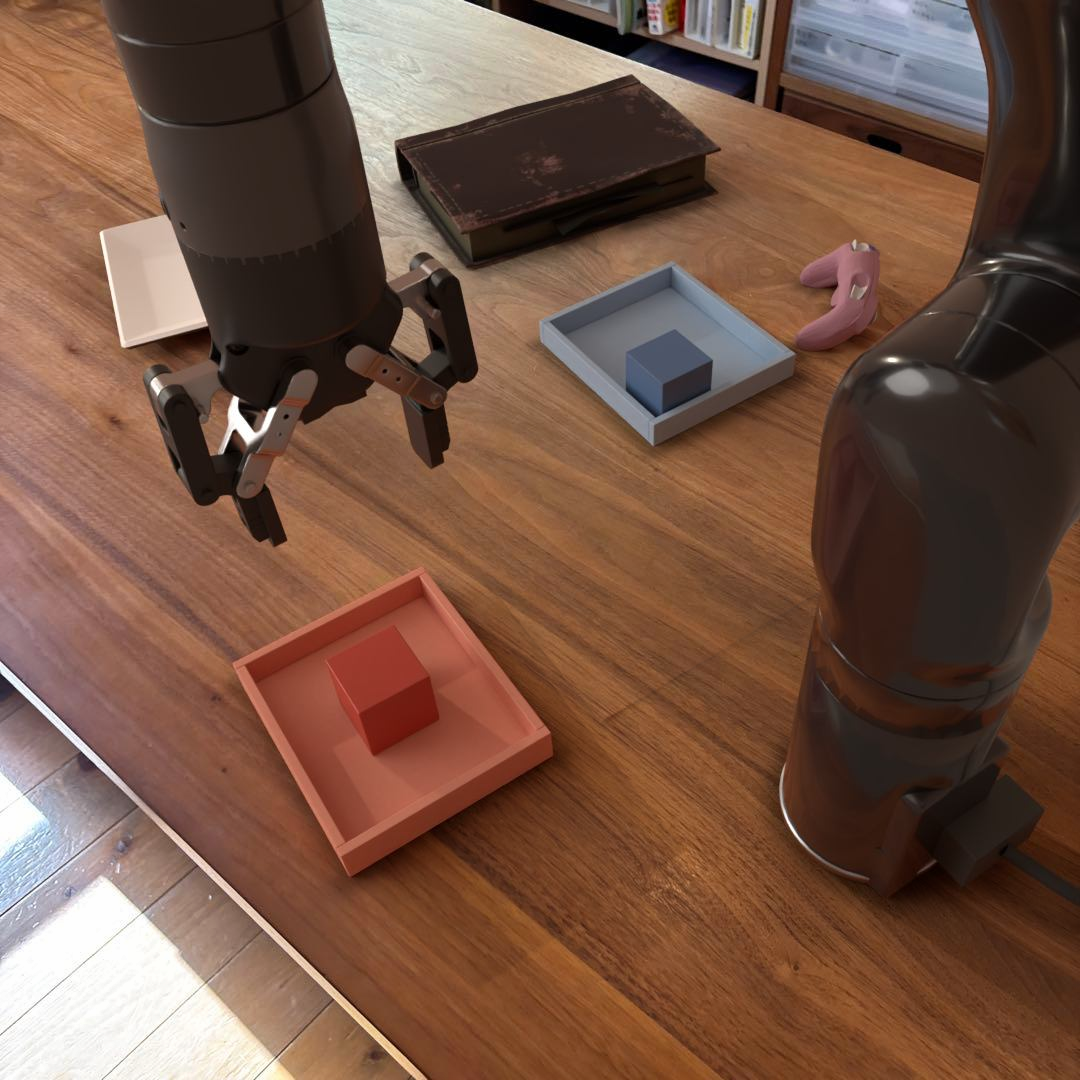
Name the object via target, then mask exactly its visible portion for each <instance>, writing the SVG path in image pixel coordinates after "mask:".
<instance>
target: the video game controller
mask: <svg viewBox="0 0 1080 1080" xmlns="http://www.w3.org/2000/svg"><path fill="white" fill-rule="evenodd" d="M880 253H881V252H880V250H879V249H878V248H876V247H875V246H873V245H872V244H868V243H866V242H858V241H857V239H853V241H849V242H848V241H847V242H846V243H844V244H842V245H840V246H839V247H838V248H836V249H834V250H833V251H832V252H830V253H828V254H826V255H824V256H822V257H819V258H817V259H816V260H814V261H812V262H811V263H809V264H807V265H806V266H805V267H804V268H803V269H802V271H801V272H800V275H799V283H800V284H801V285H803V286H806V287H811V288H816V289H824V288H829V287H833V286H835V285H837V287H836V288H835V291H834V292H833V293H832V297H831V298H830V299H831V300H830V306H831V307H832V309H831V310H829V311H828V312H827V313H825V314H824V315H822V316H820V317H819V318H817V319H815V320H813V321H811V322H810V323H807V324H806V325H804V326H803V327H802V328H801V329H800V330H798V332H796V334H795V337H794V345H795V347H796V348H798V349H800V350H801V351H802V350H803V351H809V352H820V351H826V350H829V349H831V348H834V347H837V346H838V345H841V343H843V342H845V341H847V340H849V339H850V338H851V337H853V336H857V335H860V334H861V333H862V332H863V331H865V329H866V328H867V327H869V326H871V325H872V324H874V323H875V322H876V320H877V316H878V311H877V308H878V305H879V296H878V294H877V290H878V285H879V281H880V273H881V271H880V270H881V264H880V263H881V262H880Z"/></svg>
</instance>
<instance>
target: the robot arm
mask: <svg viewBox="0 0 1080 1080" xmlns="http://www.w3.org/2000/svg"><path fill="white" fill-rule="evenodd" d="M323 1H324V0H99V2H100V5H101V8H102V11H103V15H104V17H105V20H106V21H105V22H106V23H107V26H108V28H109V29H108V30H109V32H110V35H111V38H112V40H113V43H114V46H115V50H116V52H117V54H118V57H119V59H120V62H121V66H122V69H123V71H124V74H125V77H126V81H127V82H128V85H129V88H130V91H131V93H132V96H133V99H134V101H135V106H136V109H137V111H138V115H139V119H140V123H141V128H142V133H143V138H144V144H145V148H146V153H147V156H148V157H147V158H148V161H149V164H150V166H151V170H152V172H153V177H154V179H155V182H156V185H157V196H158V199H159V203H160V206H161V208H162V211H163V213H164V215H167V217H168V219H169V220H170V221H171V224H172V227H173V230H174V232H175V235H176V238H177V241H178V244H179V246H180V249H181V252H182V254H183V257H184V260H185V263H186V265H187V268H188V271H189V274H190V276H191V279H192V282H193V285H194V287H195V290H196V293H197V296H198V299H199V301H200V304H201V307H202V310H203V313H204V315H205V318H206V321H207V324H208V327H209V328H208V330H209V332H210V339H211V344H210V349H209V355H208V359H207V360H204V361H201V362H199V363H196V364H193V365H190V366H188V367H186V368H182V369H180V370H177V371H174V372H173V370H172V369H171V367H169V365H166V364H163V363H157V364H152V365H150V366H149V367H147V369H145V371H144V372H143V375H142V381H143V385H144V388H145V391H146V393H147V396H148V399H149V402H150V405H151V408H152V410H153V413H154V416H155V419H156V422H157V425H158V428H159V431H160V434H161V437H162V439H163V442H164V445H165V448H166V450H167V454H168V457H169V459H170V462H171V465H172V468H173V470H174V472H175V474H176V476H177V477H178V478H179V480H180V481H181V483H182V485H183V486H184V487H185V489H186V490H187V492H188V494H189V495H190V496H191V498H192V500H193V501H194V502H195V504H196V505H198V506H201V507H208V506H211V505H214V504H216V502H217V501H219V499H220V497H224V496H230V497H231V499H232V502H233V504H234V506H235V507H234V508H235V509H236V511H237V514H238V516H239V519H240V521H241V522H242V524H243V525H244V527H245V529H246V530H247V531H248V533H249V534H250V535H251V537H252V538H253V540H255V541H257V543H259V544H260V543H262V542H265V541H268V542H269V544H270V545H271V547H273V548H276V547H278V546H280V545H282V544H285V543H287V542H288V537H287V534H286V532H285V528H284V526H283V523H282V520H281V518H280V514H279V512H278V510H277V506H276V503H275V500H274V498H273V496H272V493H271V490H270V488H269V487H268V485H267V483H266V480H267V477H268V476H269V473H270V470H271V468H272V466H273V463H274V461H275V459H276V458H281V457H282V456H284V454H285V452H286V451H287V448H288V445H289V443H290V441H291V438H292V435H293V433H294V432H295V429H296V426H297V424H298V422H301V423H302V424H303V426H306V425H308V424H310V423H312V422H314V421H316V420H318V419H321V418H322V417H324V416H325V415H326V414H327V413H329V412H330V411H332V410H333V409H334V408H337V407H340V406H345V405H349V404H350V405H351V404H353V403H355V402H357V401H360V400H362V399H363V398H366V397H368V394H367V390H369V389H370V388H371V387H372V385H374V383H378V384H379V385H381V386H382V387H384V388H387V389H388V390H390V391H392V392H393V393H395V394H397V395H398V396H399V397H400V400H401V406H402V409H403V410H402V411H403V415H404V419H405V424H406V428H407V433H408V438H409V441H410V446H411V448H412V450H413V451H414V453H415V454H416V455H417V456H418V458H419V459H420V460H421V461H422V463H424V464H425V465H426V467H427V468H429V470H433V469H435V468H438V467H439V466H441V465H444V464H445V458H444V457H445V456H444V453H445V452H446V451H448V450H449V449H450V444H451V434H450V429H449V425H448V418H447V413H446V407H445V402H446V401H447V399H448V392H450V389H452V388H453V387H454V386H455V385H457V383H458V382H459V383H460V384H467V383H470V382H471V381H473V380H474V379H475V378H476V376H477V375H478V373H479V364H478V359H477V353H476V350H475V345H474V341H473V335H472V331H471V326H470V323H469V318H468V313H467V308H466V304H465V303H466V302H465V299H464V295H463V289H462V285H461V282H460V279H459V278H458V277H457V276H456V275H454V273H452V272H451V271H450V270H449V269H448V268H447V267H446V266H445V265H444V264H443V263H441V262H440V261H439V260H438V259H436V258H435V257H434V256H433V255H432V254H430V253H429V252H427V251H420V252H418V253H416V254H415V255H414V256H413V257H412V258H411V260H410V262H409V267H408V268H409V271H408V272H406V273H404V274H402V275H400V276H398V277H396V278H394V279H392V280H390V281H387V278H388V277H387V269H386V264H385V260H384V255H383V250H382V245H381V240H380V235H379V230H378V225H377V221H376V216H375V212H374V206H373V202H372V197H371V191H370V188H369V182H368V178H367V172H366V168H365V162H364V158H363V154H362V149H361V143H360V140H359V139H360V138H359V133H358V130H357V129H358V128H357V126H356V122H355V118H354V117H355V116H354V114H353V111H352V108H351V104H350V102H349V100H348V97H347V95H346V91H345V89H344V86H343V83H342V79H341V78H340V74H339V70H338V67H337V63H336V60H335V53H334V49H333V44H332V40H331V39H332V38H331V35H330V30H329V25H328V20H327V15H326V11H325V6H324V2H323ZM964 2H965V5H966V7H967V11H968V13H969V16H970V18H971V19H970V20H971V22H972V24H973V27H974V30H975V33H976V37H977V40H978V45H979V48H980V52H981V55H982V59H983V63H984V67H985V73H986V81H987V82H986V83H987V91H988V92H987V95H988V96H987V101H988V104H987V105H988V106H987V107H988V108H987V109H988V113H987V115H988V118H987V129H986V140H985V147H984V148H985V149H984V155H983V161H982V162H983V163H982V167H981V174H980V179H979V184H978V190H977V194H976V198H975V199H976V200H975V206H974V209H973V214H972V218H971V221H970V226H969V230H968V234H967V236H966V237H967V238H966V241H965V245H964V248H963V251H962V255H961V258H960V261H959V263H958V265H957V267H956V269H955V271H954V273H953V275H952V276H951V278H950V280H949V281H948V283H947V285H946V286H945V288H943V289H942V290H941V291H939V292H938V293H937V294H936V295H934V296H933V297H931V298H930V299H929V300H928V301H927V302H925V303H924V304H923V305H922V306H920V307H919V308H918V309H916V310H915V311H914V312H912V313H911V314H910V315H908V316H907V317H905V319H903V320H902V321H901V322H900V323H898V324H897V325H896V326H894V327H893V328H892V329H891V330H889V331H888V332H887V333H886V334H884V335H883V336H882V337H881V338H880V339H878V340H877V341H876V342H875V343H873V344H872V345H871V346H869V347H868V348H866V350H864V351H863V352H862V353H861V354H859V355H858V356H857V357H856V358H855V359H854V360H853V361H852V362H851V364H850V365H849V366H848V367H847V368H846V370H845V372H844V373H843V374H842V376H841V378H840V379H839V381H838V383H837V385H836V387H835V389H834V392H833V395H832V397H831V399H830V402H829V405H828V408H827V412H826V416H825V419H824V424H823V428H822V433H821V438H820V446H819V454H818V463H817V472H816V481H815V490H814V498H813V499H814V500H813V509H812V519H811V526H810V527H811V528H810V553H811V559H812V565H813V569H814V572H815V575H816V579H817V582H818V583H819V587H820V589H819V593H818V598H817V603H816V607H815V613H814V618H813V623H812V628H811V633H810V637H809V642H808V648H807V651H806V657H805V660H804V661H805V662H804V667H803V671H802V677H801V682H800V686H799V691H798V697H797V702H796V707H795V710H794V711H795V712H794V717H793V722H792V726H791V732H790V737H789V741H788V748H787V752H786V753H787V754H786V758H785V763H784V765H783V767H782V771H781V775H780V779H779V783H778V784H779V785H778V807H779V811H780V814H781V817H782V820H783V823H784V826H785V828H786V829H787V831H788V833H789V835H790V836H791V838H792V839H793V841H794V842H795V843H796V845H797V846H798V848H800V850H801V851H802V852H803V853H804V854H805V855H806V856H807V857H809V859H811V860H812V861H813V862H814V863H816V864H817V865H819V866H820V867H822V868H823V869H825V870H826V871H828V872H829V873H832V874H834V875H836V876H839V877H841V878H844V879H846V880H849V881H852V882H856V883H862V884H866V885H868V886H869V887H870V888H871V889H872V890H874V892H875V893H876V894H877V895H878V896H879V897H881V898H882V899H888V898H890V897H892V896H893V895H894V894H896V893H898V891H900V890H901V889H902V888H904V887H905V886H907V885H908V884H909V883H911V882H912V881H913V880H915V879H916V878H918V877H920V876H922V875H924V874H925V873H927V872H929V871H930V870H931V869H932V868H934V867H935V866H936V865H940V866H941V867H942V868H943V869H944V870H945V872H946V873H947V874H948V875H949V876H951V878H952V879H953V880H954V881H955V882H956V883H957V884H958V885H959V886H960V887H961V888H965V887H966V886H967V885H969V884H970V883H972V882H973V881H974V880H976V879H977V878H978V877H979V876H981V875H982V874H983V873H985V872H986V871H988V870H989V869H990V868H991V867H993V866H994V865H995V864H997V863H998V862H999V861H1000V860H1002V859H1004V860H1005V861H1007V862H1008V863H1009V864H1011V865H1013V866H1014V867H1016V868H1017V869H1019V870H1021V871H1022V872H1024V873H1025V874H1026V875H1028V876H1029V877H1031V878H1033V879H1034V880H1036V881H1037V882H1039V883H1040V884H1041V885H1043V886H1044V887H1046V888H1048V889H1049V890H1051V891H1052V892H1054V893H1056V895H1058V896H1060V897H1062V898H1063V899H1065V900H1066V901H1068V902H1070V903H1072V904H1073V905H1075V906H1077V907H1079V908H1080V888H1079V887H1077V886H1076V885H1074V884H1072V883H1071V882H1070V881H1068V880H1066V879H1064V878H1063V877H1061V876H1059V875H1058V874H1056V872H1054V871H1052V870H1050V869H1049V868H1048V867H1046V866H1044V865H1043V864H1041V863H1040V862H1039V861H1037V860H1035V859H1034V858H1032V857H1031V856H1029V855H1028V854H1027V853H1025V852H1024V851H1022V850H1021V849H1020V848H1019V849H1018V847H1020V846H1021V845H1022V844H1023V843H1025V842H1026V841H1027V840H1029V838H1030V837H1031V835H1032V834H1033V832H1034V831H1035V829H1036V827H1037V825H1038V823H1039V822H1040V820H1041V818H1042V817H1043V814H1044V813H1045V811H1046V809H1045V808H1044V807H1043V805H1041V803H1039V802H1038V801H1037V800H1036V799H1034V798H1033V796H1031V795H1030V794H1029V793H1028V792H1027V791H1026V790H1025V789H1024V788H1023V787H1022V786H1020V785H1019V784H1018V783H1017V781H1015V779H1013V778H1012V777H1011V776H1009V774H1007V773H1005V774H1003V775H1002V776H1000V777H999V775H1000V773H1001V771H1002V769H1003V767H1004V765H1005V762H1006V760H1007V758H1008V757H1009V754H1010V752H1011V745H1010V744H1009V742H1007V741H1006V740H1005V739H1004V738H1003V737H1002V736H1001V735H999V733H1000V732H1001V728H1002V727H1003V725H1004V722H1005V720H1006V718H1007V715H1008V713H1009V711H1010V709H1011V707H1012V705H1013V703H1014V701H1015V698H1016V696H1017V695H1018V692H1019V690H1020V687H1021V685H1022V683H1023V681H1024V679H1025V676H1026V674H1027V672H1028V670H1029V668H1030V666H1031V664H1032V662H1033V660H1034V658H1035V657H1036V654H1037V652H1038V650H1039V648H1040V646H1041V643H1042V642H1043V640H1044V637H1045V634H1046V632H1047V630H1048V627H1049V624H1050V621H1051V618H1052V613H1053V590H1052V589H1053V588H1052V584H1051V579H1050V576H1049V574H1048V572H1047V571H1048V569H1049V567H1050V564H1051V562H1052V561H1053V558H1054V556H1055V554H1056V553H1057V550H1058V549H1059V547H1060V544H1061V543H1062V541H1063V539H1064V538H1065V536H1066V535H1067V533H1068V532H1069V531H1070V529H1071V528H1073V526H1074V525H1075V524H1076V523H1077V522H1078V521H1079V520H1080V0H964ZM406 308H407V309H408V308H409V309H410V310H411V311H413V313H415V314H416V316H418V317H419V318H420V319H421V320H422V324H423V328H424V332H425V337H426V340H427V343H428V347H429V351H430V352H429V354H427V356H426V357H424V358H423V359H422V360H421V361H420V362H419V361H417V360H415V359H414V358H412V357H411V356H409V355H408V354H405V353H404V352H402V351H400V350H399V349H397V348H396V347H395V346H394V345H392V344H393V342H394V339H395V337H396V334H397V332H398V329H399V327H400V325H401V323H402V320H403V316H404V309H406ZM222 389H224V390H225V391H226V392H227V393H229V394H230V395H232V397H231V400H230V403H229V406H228V408H227V414H226V416H227V428H226V430H225V433H224V435H223V438H222V441H221V443H220V445H219V447H218V450H217V453H216V454H212V455H211V454H210V450H209V447H208V443H207V441H206V437H205V434H204V430H203V428H202V425H205V424H207V423H208V422H209V421H210V419H211V418H210V417H211V416H210V414H211V412H212V400H213V397H214V395H215V394H216V393H217V392H219V391H220V390H222ZM264 412H266V415H265V416H264ZM998 777H999V778H998Z"/></svg>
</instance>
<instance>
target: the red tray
mask: <svg viewBox="0 0 1080 1080" xmlns="http://www.w3.org/2000/svg"><path fill="white" fill-rule="evenodd" d="M392 625H394V626H395V627H396V628H397V630H398V631H399V633H400V634H401V635H402V637H403V638H404V640H405V641H406V643H407V644H408V646H409V647H410V648H411V650H412V651H413V653H414V654H415V656H416V657H417V658H418V660H419V661H420V663H421V664H422V666H423V667H424V668H425V670H426V671H427V673H428V674H429V676H430V680H431V684H432V688H433V692H434V696H435V700H436V705H437V709H438V713H439V717H440V719H439V720H437V721H435V722H433V723H432V724H430V725H428V726H426V727H424V728H423V729H421V730H419V731H417V732H415V733H414V734H412V735H410V736H408V737H406V738H405V739H403V740H401V741H399V742H397V743H396V744H394V745H392V746H390V747H389V748H387V749H385V750H383V751H381V752H380V753H378V754H376V755H374V756H373V755H372V754H371V752H370V751H369V749H368V748H367V746H366V744H365V743H364V741H363V739H362V738H361V736H360V735H359V733H358V731H357V730H356V728H355V726H354V725H353V723H352V722H351V720H350V718H349V717H348V715H347V713H346V712H345V710H344V709H343V707H342V705H341V704H340V701H339V698H338V695H337V693H336V690H335V687H334V684H333V681H332V679H331V676H330V673H329V670H328V667H327V665H326V662H325V660H326V659H328V658H330V657H332V656H334V655H336V654H338V653H340V652H342V651H344V650H346V649H347V648H349V647H351V646H353V645H355V644H357V643H359V642H361V641H363V640H365V639H367V638H369V637H371V636H373V635H374V634H376V633H378V632H380V631H382V630H384V629H386V628H388V627H390V626H392ZM232 666H233V668H234V670H235V672H236V675H237V677H238V679H239V682H240V683H241V685H242V687H243V689H244V691H245V693H246V695H247V697H248V699H249V700H250V701H251V703H252V705H253V707H254V709H255V711H256V712H257V714H258V716H259V718H260V719H261V721H262V723H263V725H264V726H265V729H266V730H267V732H268V734H269V736H270V737H271V740H272V741H273V743H274V744H275V746H276V749H277V750H278V751H279V753H280V755H281V757H282V759H283V760H284V762H285V765H286V766H287V768H288V769H289V772H290V773H291V776H292V777H293V779H294V781H295V783H296V784H297V786H298V788H299V789H300V791H301V793H302V795H303V797H304V798H305V800H306V802H307V804H308V805H309V808H310V809H311V811H312V812H313V814H314V816H315V818H316V820H317V821H318V823H319V825H320V827H321V829H322V830H323V832H324V834H325V835H326V837H327V840H328V841H329V843H330V845H331V846H332V848H333V850H334V853H336V855H337V857H338V859H339V860H340V862H341V864H342V866H343V867H344V869H345V871H346V873H347V875H348V877H350V878H351V877H353V876H355V875H357V874H358V873H360V872H362V871H364V870H366V868H368V867H370V866H372V865H373V864H375V863H377V862H378V861H380V860H381V859H383V858H385V857H387V856H388V855H390V854H391V853H393V852H395V851H397V850H398V849H400V848H401V847H404V846H405V845H406V844H408V843H410V842H411V841H413V840H416V838H418V837H420V836H421V835H423V834H425V833H426V832H428V831H430V830H431V829H433V828H436V827H437V826H438V825H440V824H441V823H443V822H445V821H447V820H448V819H450V818H451V817H453V816H455V815H457V814H458V813H460V812H461V811H463V810H465V809H466V808H468V807H470V806H472V805H473V804H475V803H476V802H478V801H479V800H482V799H483V798H485V797H487V796H488V795H490V794H491V793H493V792H495V791H496V790H498V789H500V788H502V787H504V786H505V785H506V784H508V783H510V782H511V781H513V780H515V779H517V778H519V777H520V776H521V775H523V774H526V773H527V772H528V771H530V770H531V769H533V768H535V767H537V766H538V765H540V764H541V763H543V762H545V761H546V760H548V759H550V758H552V757H554V752H553V751H554V749H553V739H552V732H551V731H550V729H548V727H547V726H546V725H545V723H544V722H543V720H541V718H540V716H538V714H537V713H536V712H535V710H534V709H533V708H532V707H531V705H530V704H529V702H528V700H526V698H525V697H524V696H523V695H522V694H521V692H520V691H519V689H518V688H517V687H516V686H515V684H514V683H513V682H512V681H511V679H510V677H509V676H508V675H507V674H506V672H505V671H504V670H503V669H502V667H501V666H500V665H499V664H498V662H497V661H496V659H495V658H494V657H493V656H492V654H491V653H490V652H489V651H488V649H487V648H486V647H485V645H484V644H483V643H482V641H481V640H480V639H479V638H478V636H477V635H476V634H475V632H474V631H473V629H472V628H471V627H470V626H469V625H468V623H467V622H466V620H464V618H463V617H462V616H461V614H460V613H459V611H458V610H457V609H456V608H455V606H454V605H453V604H452V603H451V601H450V600H449V599H448V597H447V596H446V594H444V592H443V591H442V589H441V588H440V587H439V586H438V584H437V583H436V582H435V581H434V579H433V577H432V576H431V575H430V574H429V573H428V571H427V570H426V569H425V567H424V566H420V567H418V568H416V569H413V570H412V571H410V572H408V573H406V574H404V575H402V576H400V577H398V578H396V579H394V580H392V581H391V582H388V583H387V584H384V585H382V586H381V587H379V588H377V589H375V590H373V591H370V592H368V593H367V594H365V595H363V596H361V597H359V598H357V599H355V600H353V601H351V602H349V603H347V604H346V605H343V606H341V607H339V608H338V609H336V610H333V611H331V612H329V613H328V614H326V615H324V616H322V617H320V618H318V619H316V620H314V621H311V622H310V623H308V624H306V625H304V626H302V627H301V628H299V629H296V630H295V631H293V632H290V633H289V634H287V635H285V636H282V637H280V638H279V639H277V640H275V641H273V642H271V643H269V644H267V645H265V646H263V647H260V648H259V649H258V650H255V651H254V652H251V653H249V654H248V655H245V656H244V657H242V658H240V659H238V660H235V661H234V662H232Z"/></svg>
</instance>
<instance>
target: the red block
mask: <svg viewBox="0 0 1080 1080" xmlns="http://www.w3.org/2000/svg"><path fill="white" fill-rule="evenodd" d="M325 662H326V665H327V667H328V670H329V673H330V676H331V679H332V681H333V684H334V687H335V690H336V693H337V695H338V698H339V701H340V704H341V705H342V707H343V709H344V710H345V712H346V713H347V715H348V717H349V718H350V720H351V722H352V723H353V725H354V726H355V728H356V730H357V731H358V733H359V735H360V736H361V738H362V739H363V741H364V743H365V744H366V746H367V748H368V749H369V751H370V752H371V754H372V755H373V756H374V755H376V754H378V753H380V752H381V751H383V750H385V749H387V748H389V747H390V746H392V745H394V744H396V743H397V742H399V741H401V740H403V739H405V738H406V737H408V736H410V735H412V734H414V733H415V732H417V731H419V730H421V729H423V728H424V727H426V726H428V725H430V724H432V723H433V722H435V721H437V720H439V719H440V717H439V713H438V709H437V705H436V700H435V696H434V692H433V688H432V684H431V680H430V676H429V674H428V673H427V671H426V670H425V668H424V667H423V666H422V664H421V663H420V661H419V660H418V658H417V657H416V656H415V654H414V653H413V651H412V650H411V648H410V647H409V646H408V644H407V643H406V641H405V640H404V638H403V637H402V635H401V634H400V633H399V631H398V630H397V628H396V627H395V626H394V625H392V626H390V627H388V628H386V629H384V630H382V631H380V632H378V633H376V634H374V635H373V636H371V637H369V638H367V639H365V640H363V641H361V642H359V643H357V644H355V645H353V646H351V647H349V648H347V649H346V650H344V651H342V652H340V653H338V654H336V655H334V656H332V657H330V658H328V659H326V660H325Z"/></svg>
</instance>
